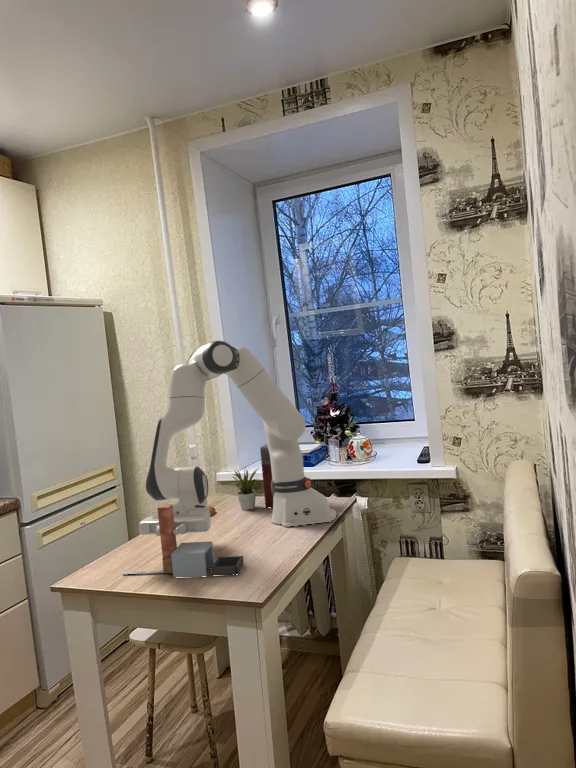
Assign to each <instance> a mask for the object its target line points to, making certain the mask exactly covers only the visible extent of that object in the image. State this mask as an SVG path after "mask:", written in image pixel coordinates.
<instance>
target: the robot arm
mask: <svg viewBox="0 0 576 768" xmlns="http://www.w3.org/2000/svg"><path fill="white" fill-rule="evenodd" d="M190 354H191V355H190V356H189V358H188V359H187V361H186V363H181V364H178V365H176V366H175V367H174V368H173V369H172V372H171V375H170V383H169V390H168V391H169V395H168V406H167V408H166V412H165V414H164V415H162V416H161V417H160V418H159V420H158V422H157V426H156V430H155V435H154V439H153V440H154V441H153V445H152V446H153V447H152V452H151V453H152V454H151V459H150V463H149V464H150V465H149V468H148V472H147V475H146V481H145V491H146V493H147V494H148V495H149V496H150V497H151V498H152V499H153V500H155V501H158V502H159V501H166V500H175V499H176V500H177V499H178V501H177V502H176V503H175V504H174V505H173V514H174V524H175V527H174V528H173V529H172V532H173V533H172V534H173V535H176V536H179V535H185V534H188V533H189V534H190V533H203V532H204V533H205V532H209V530H210V529H211V528H212V527H211V526H212V523H211V522H212V521H211V520H212V519H211V516H210V510H209V507H208V506H209V505H208V499H207V497H208V496H209V479H208V477H207V474H206V473H205V472H204V471H203V469H202V468H200V467H199V466H181V467H179V466H177V467H174V466H173V467H167V459H168V454H169V448H170V443H171V440H172V438H174V437H175V436H176V434H179V433H180V432H182V431H185V430H187V429H189V428H191V427H193V426H195V425H197V424H198V423H199V422H200V420H202V418H203V417H204V414H205V408H206V407H205V405H206V404H205V403H206V402H205V400H206V399H205V398H206V396H205V395H206V394H205V393H206V392H205V388H206V387H205V386H206V382H207V381H209V380H212V379H215V378H216V379H217V378H218V377H221V376H222V375H223V374H225V375H227V377H229V378H230V379H231V380H232V381H233V384H235V386H236V387H237V389H238V390H239V391H240V393H241V394H242V395H243V397H244V398H245V399H246V401H247V402H248V404H249V405H250V407H252V409H253V410H254V411H255V412H256V414H258V415H259V416H260V418H261V419H262V424H263V428H264V434H265V440H266V444H267V445H268V449H269V454H270V460H271V471H272V480H271V488H272V495H273V509H272V513H271V514H272V516H271V520H270V521H271V523H273V524H276V525H280V524H281V526H283V527H285V526H286V527H285V528H291V527H290V526H294V527H299V526H298V525H303V526H306V525H305V524H312V525H314V524H313V523H320V522H330V521H332V520H334V519H335V518H336V519H337V517H336V515H337V511H336V510H335V509H333V508H331V507H330V503H329V500H328V499H327V497H326V496H325V495H324V494H323V493H320V492H319V491H318V490H316V489H314V488H313V487H312V481H311V477H308V476H305V470H304V457H303V452H302V450H301V447H300V444H299V438H301V437H302V435H303V434H304V433H305V430H306V424H307V423H306V421H305V420H306V419H305V418H304V416H303V415H302V414H301V413H300V411H299V410H298V408H297V407H296V406H295V405H294V404H293V403H292V402H291V399H289V398H288V397H287V396H286V394H284V392H283V391H282V390H281V389H280V388H279V386H278V385H277V384H276V383H275V381H274V380H273V378H272V377H271V376H270V374H269V373H268V371H267V370H266V368H265V367H264V366H263V364H262V363H261V362H260V361H259V359H258V358H257V357H256V356H255V355H254V354H253V353H252V352H251V351H250V350H249V349H248V348H247V347H245V346H235V347H234V346H232V345H231V344H230V343H228V342H226V341H223V340H214V341H211V342H208V343H205V344H204V345H201V346H199V348H198V349H196V350H195V351H193V352H192V353H190ZM337 516H338V515H337ZM336 519H335V520H336ZM335 520H334V521H335ZM332 522H333V521H332ZM330 523H331V522H330ZM138 529H139V534H140V535H143V536H144V535H155V536H156V537H160V528H159V518H158V514H157V515H156V514H155V515H150V516H147V517H145V518H144V519H142V520H141V521H139V523H138Z"/></svg>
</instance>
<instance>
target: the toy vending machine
mask: <svg viewBox="0 0 576 768" xmlns="http://www.w3.org/2000/svg"><path fill="white" fill-rule="evenodd" d="M259 450H260V461H261V472H262V483H263V493H264V505H265V509H266V508H268V507H271V508H273V495H272V488H271V480H272V471H271V460H270V454H269V449H268V445H267V443H266V444H264V445H262V446H260V448H259Z"/></svg>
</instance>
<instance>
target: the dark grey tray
mask: <svg viewBox="0 0 576 768" xmlns="http://www.w3.org/2000/svg"><path fill="white" fill-rule="evenodd" d="M243 564H244V565H245V563H244V555H237V556H232V555H231V556H218V557H217V559H216V560H215V561H214V565H213V566H211V568H210V569H211V570H212V572H211V577H212V576H213V575H233V574H234V575H236V574H238V573H239V574H240V572H241V571H240V569H241V567H242V566H243V567H244V565H243ZM243 567H242V568H243ZM241 570H242V569H241ZM239 571H240V572H239ZM239 574H238V575H239Z"/></svg>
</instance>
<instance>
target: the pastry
mask: <svg viewBox="0 0 576 768" xmlns="http://www.w3.org/2000/svg"><path fill="white" fill-rule="evenodd" d="M207 506H208V507H209V510H210V517H211V516H213V515H214V514H215V513H216V508H215V507H213V506H210V505H207Z"/></svg>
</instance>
